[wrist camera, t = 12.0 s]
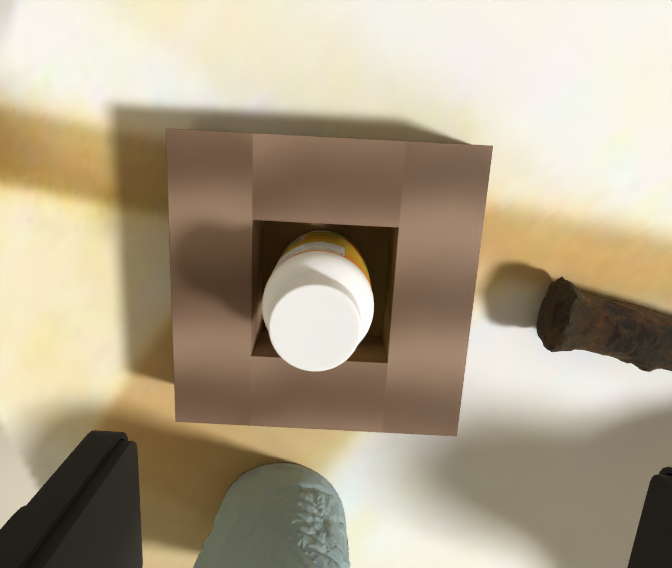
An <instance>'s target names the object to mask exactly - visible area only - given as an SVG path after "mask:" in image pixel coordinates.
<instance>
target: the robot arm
mask: <svg viewBox="0 0 672 568" xmlns="http://www.w3.org/2000/svg"><path fill="white" fill-rule="evenodd" d="M142 565H143V558H142V537H141V516H140V495H139V474H138V454H137V445H136V442H134V441H128V437H127V435H126V434H125V433H124V432H111V431H95V430H94V431H91V432H90V433H88V434H87V436H86V437H85V438H84V439H83V440H82V441H81V442H80V444H79V445H78V446H77V447H76V448H75V449H74V451H73V452H72V453H71V454H70V455H69V456H68V458H67V459H66V460H65V461H64V462H63V463H62V465H61V466H60V467H59V468H58V469H57V470H56V471H55V473H54V474H53V475H52V476H51V477H50V478H49V480H48V481H47V482H46V483H45V484H44V485H43V487H42V488H41V489H40V490H39V491H38V492H37V494H36V495H35V496H34V497H33V498H32V499H31V501H30V502H29V503H28V504H27V505H26V506H23V507H21V508H20V509H19V510H18V511H17V512H16V513H15V514H14V515H13V516H12V517H11V518H10V519H9V520H8V521H7V523H6V524H5V525H4V526H3V527H2V528H1V529H0V568H142ZM627 568H672V467H666V468H663V469H662V470H661V471H660V473H659V475H654V476H653V477H652V478H651V481H650V484H649V487H648V491H647V495H646V499H645V503H644V506H643V510H642V514H641V518H640V522H639V526H638V529H637V533H636V537H635V541H634V545H633V548H632V552H631V556H630V560H629V564H628V567H627Z"/></svg>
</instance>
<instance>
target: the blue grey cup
mask: <svg viewBox="0 0 672 568" xmlns="http://www.w3.org/2000/svg"><path fill="white" fill-rule="evenodd" d="M348 551H349V547H348V539H347V534H346V521H345V513H344V508H343V505H342V502H341V500H340V498H339V495H338V493H337V492H336V491H335V489H334V488H333V486H332V485H331V484H330V483H329V482H328V481H327V480H326V479H325V478H324V477H322V476H321V475H320V474H318V473H317V472H315V471H313V470H311V469H309V468H306V467H304V466H301V465H297V464H292V463H271V464H265V465H262V466H259V467H256V468H254V469H252V470H249V471H247V472H245V473H244V474H243V475H241V476H240V477H239V478H238V479H237V480H236V481H235V482H234V483H233V484H232V486H231V487H230V488H229V489H228V491H227V493H226V495H225V497H224V499H223V501H222V503H221V506H220V508H219V510H218V512H217V515H216V517H215V519H214V524H213V530H212V531H211V533H210V534H209V535H208V538H207V539H206V541H205V542H204V544H203V547H202V551H201V552H200V554H199V556H198V558H197V560H196V562H195V565H194V567H193V568H350V562H349V552H348Z"/></svg>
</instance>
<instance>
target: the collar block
mask: <svg viewBox="0 0 672 568" xmlns="http://www.w3.org/2000/svg"><path fill="white" fill-rule="evenodd" d="M166 146H167V176H168V207H169V237H170V267H171V297H172V328H173V358H174V388H175V418H176V422H191V423H210V424H230V425H249V426H268V427H288V428H307V429H327V430H346V431H365V432H385V433H404V434H423V435H443V436H457V429H458V421H459V413H460V405H461V397H462V389H463V381H464V373H465V365H466V357H467V349H468V341H469V333H470V325H471V317H472V309H473V301H474V293H475V285H476V277H477V269H478V261H479V253H480V245H481V237H482V229H483V221H484V213H485V205H486V197H487V189H488V181H489V173H490V165H491V157H492V149H493V146H487V145H468V144H449V143H430V142H411V141H392V140H373V139H354V138H335V137H316V136H297V135H278V134H259V133H240V132H222V131H203V130H184V129H166ZM263 220H266V221H285V222H304V223H323V224H342V225H361V226H380V227H391V234H390V246H389V259H388V272H387V284H386V297H385V310H384V322H383V335H382V337H372V336H365V337H364V338H363V339H362V341H361V342H360V343H359V344H358V345H357V347H356V349H355V351H354V352H353V353H352V355H351V356H350V357H349V358H348V359H347V360H346V361H345V362H343V363H342V364H340V365H338V366H337V367H335V368H332V369H329V370H325V371H306V370H302V369H299V368H296V367H294V366H292V365H290V364H289V363H287V362H286V361H285V360H283V359H282V358H281V357H280V356H279V354H278V353H277V352H276V350H275V349H274V347H273V345H272V343H271V340H270V336H269V331H262V280H263Z"/></svg>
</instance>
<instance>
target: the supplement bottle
mask: <svg viewBox="0 0 672 568" xmlns="http://www.w3.org/2000/svg"><path fill="white" fill-rule="evenodd" d="M262 312H263V318H264V322H265V325H266V327H267V329H268V331H269V336H270V340H271V343H272V345H273V347H274V349H275V350H276V352H277V353H278V354H279V356H280V357H281V358H282V359H283V360H285V361H286V362H287V363H289V364H290V365H292V366H294V367H296V368H299V369H302V370H306V371H325V370H329V369H332V368H335V367H337V366H338V365H340V364H342V363H343V362H345V361H346V360H347V359H348V358H349V357H350V356H351V355H352V353H353V352H354V351H355V349H356V347H357V345H358V344H359V343H360V342H361V341H362V339H363V338H364V337H365V335H366V333H367V332H368V330H369V328H370V325H371V322H372V319H373V313H374V299H373V293H372V288H371V283H370V278H369V273H368V269H367V264H366V262H365V259H364V256H363V255H362V253H361V251H360V250H359V248H358V247H357V246H356V245H355V244H354V243H353V242H352V241H351V240H350V239H348V238H347V237H345V236H343V235H341V234H338V233H335V232H331V231H312V232H309V233H306V234H303V235H301V236H299V237H298V238H296V239H295V240H293V241H292V242H291V243H290V244H289V245H288V246H287V248H286V249H285V250H284V251H283V253H282V255H281V256H280V258H279V260H278V262H277V264H276V266H275V268H274V270H273V272H272V274H271V276H270V278H269V280H268V282H267V284H266V287H265V290H264V295H263V300H262Z"/></svg>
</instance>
